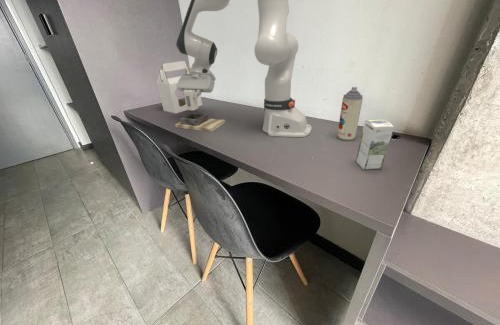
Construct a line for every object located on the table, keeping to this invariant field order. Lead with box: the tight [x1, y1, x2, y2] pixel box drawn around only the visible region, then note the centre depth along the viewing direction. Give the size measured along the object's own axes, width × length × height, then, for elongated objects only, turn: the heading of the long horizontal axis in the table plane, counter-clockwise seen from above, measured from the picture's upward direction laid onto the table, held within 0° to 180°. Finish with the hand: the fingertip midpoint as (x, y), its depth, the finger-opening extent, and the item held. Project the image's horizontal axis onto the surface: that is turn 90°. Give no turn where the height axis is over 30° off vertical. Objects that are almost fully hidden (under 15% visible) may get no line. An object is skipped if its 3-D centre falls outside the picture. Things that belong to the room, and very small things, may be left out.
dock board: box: [174, 112, 226, 133], centre depth 113 cm, size 22×13×4 cm, turn 66°
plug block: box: [183, 90, 199, 111], centre depth 109 cm, size 4×4×9 cm
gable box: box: [156, 60, 203, 115], centre depth 139 cm, size 22×13×28 cm, turn 142°
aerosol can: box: [336, 86, 364, 142], centre depth 85 cm, size 7×7×20 cm
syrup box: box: [355, 119, 395, 171], centre depth 67 cm, size 6×6×14 cm
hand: (190, 98), depth 108 cm, fingers closed on plug block, 4 cm apart
